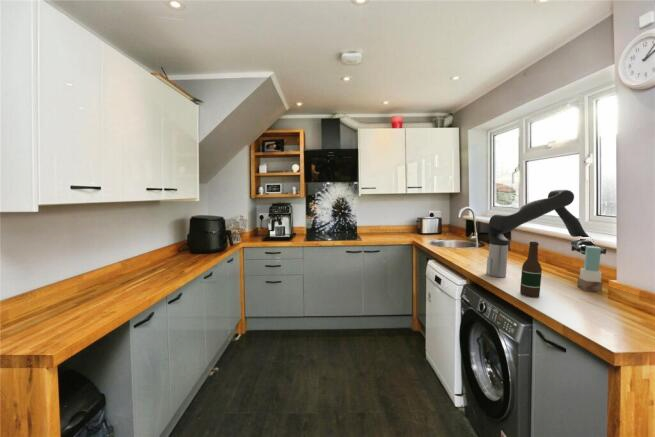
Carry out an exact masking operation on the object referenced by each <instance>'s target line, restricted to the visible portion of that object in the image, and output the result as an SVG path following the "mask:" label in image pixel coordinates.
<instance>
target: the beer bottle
mask: <svg viewBox="0 0 655 437" xmlns="http://www.w3.org/2000/svg"><path fill="white" fill-rule="evenodd" d="M528 244H529V248H528V255H527V258H526V260H525V261H524V262H523V263H522V267H521V275H520V276H521V278H520V285H519V286H520V288H519V290H520V291H519V292H520V296H521V295H522V296H523V295H524V297H527V298H534V299H535V298H540V294H541V283H542V265H541V264H540V263H541V262H540V261H539V256H538V255H539V253H538V252H539V250H538V249H539V245H540V244H539V242H538V241H529V243H528Z"/></svg>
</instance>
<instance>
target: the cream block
mask: <svg viewBox="0 0 655 437" xmlns="http://www.w3.org/2000/svg"><path fill="white" fill-rule="evenodd" d="M579 269H580V271H579V278H581V279H583V280H585V281H591V282H602V273H603V272H602V271H601V270H599V272H597V271H589V270H585V269H584V267H580V268H579Z"/></svg>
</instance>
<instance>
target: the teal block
mask: <svg viewBox="0 0 655 437" xmlns="http://www.w3.org/2000/svg"><path fill="white" fill-rule="evenodd" d="M601 248H602V247H600V246H595V247H593V246H586V251H585V255H584V263H583V268H584V269H585V270H589V271H597V272H599V271H600V263H601V255H602V254H601Z"/></svg>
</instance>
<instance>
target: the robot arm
mask: <svg viewBox="0 0 655 437" xmlns="http://www.w3.org/2000/svg"><path fill="white" fill-rule="evenodd" d="M574 199H575V194H574V192H572V190H568V189H555V190H551V191H549V192H548V194H547V197H546V198H541V199H537V200H533V201H530V202H528V203H525V204H524V205H522V206H521V207H520V208H519V210H518V211H517V212H515V213H512V214H509V215H503V214H493V215H492V216H491V217H490V218H489V221H488V239H489V247H488V248H489V249H488V256H487V257H486V258H487V259H486V271H485V272H486V274H487V275H488V276H489V277H495V278H496V277H497V278H505V277H507V267H508V254H509V239H508V238H506V237H505V235H504V234H505V233H509V232H512V231H513V230H515V229H516V228H518V227H520V226H522V225H524V224H526V223H528V222H531V221H533V220H535V219H538V218H540V217H542V216H544V215H546V214H548V213H551V212H553V211H555V213H556V214H557V215H558V216H559V218H560V219H561V221H562V222H563V223H564V226H565V227H566V229H567V231H568V233H569V236H571V237H573V238H580V237H590V235H588V233H587V232H586V231H585V230H584V228H583V226H582V224H581V222H580V221H579V219H578V218H577V217H576V216H575V215H573V214H572V213H571V212H570V211H569V209H567V208H566V207H567V206H571V204H572V203H573V202H574ZM570 245H571V249H570V250H571V251H572V252H574V251H575V252H578V253H581V255H584V256H585V251H586V246H593V247H596V245H595V243H594V244H593V243H592V242H591V241H589V240H586V239H580V240H574V239H572V240H571V241H570ZM600 248H601V254H600V255H603V254H604V255H607V249H606V248H605V247H600Z"/></svg>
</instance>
